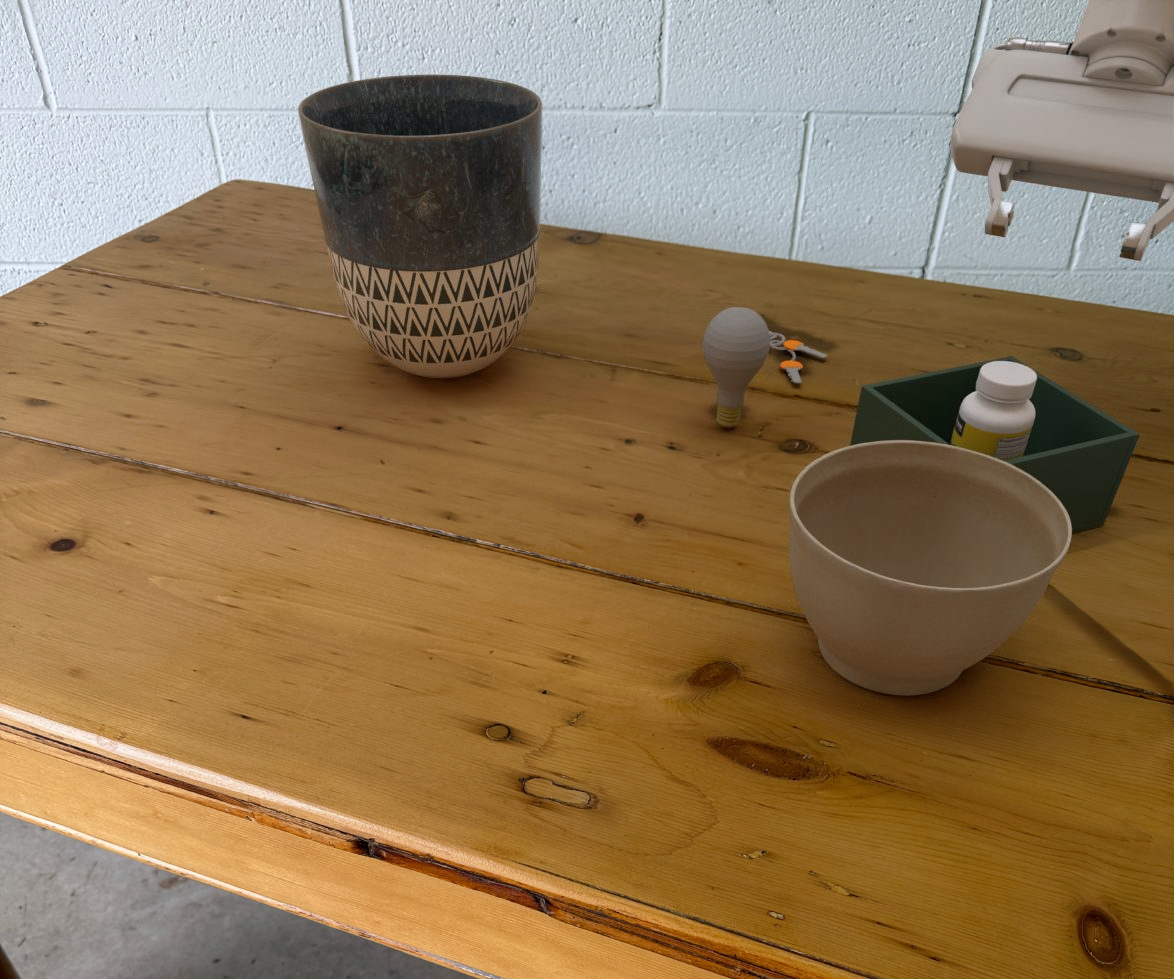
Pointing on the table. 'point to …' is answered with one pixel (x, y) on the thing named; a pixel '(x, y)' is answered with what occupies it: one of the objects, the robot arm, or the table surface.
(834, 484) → the planter bowl
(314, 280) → the table surface
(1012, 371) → the supplement bottle
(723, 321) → the light bulb
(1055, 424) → the bin
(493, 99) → the planter
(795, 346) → the key chain
